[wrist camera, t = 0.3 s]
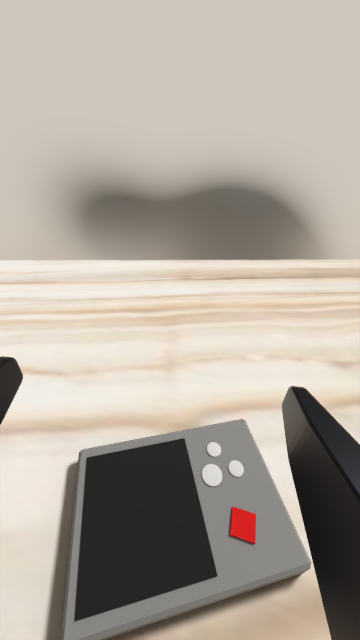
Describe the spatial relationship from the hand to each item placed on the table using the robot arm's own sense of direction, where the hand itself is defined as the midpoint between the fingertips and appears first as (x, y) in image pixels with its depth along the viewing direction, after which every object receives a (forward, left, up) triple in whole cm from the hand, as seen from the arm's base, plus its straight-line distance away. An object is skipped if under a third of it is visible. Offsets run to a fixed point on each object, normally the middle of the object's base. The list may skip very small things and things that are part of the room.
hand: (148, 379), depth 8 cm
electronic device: (+2, -1, -17) cm, 17 cm away
